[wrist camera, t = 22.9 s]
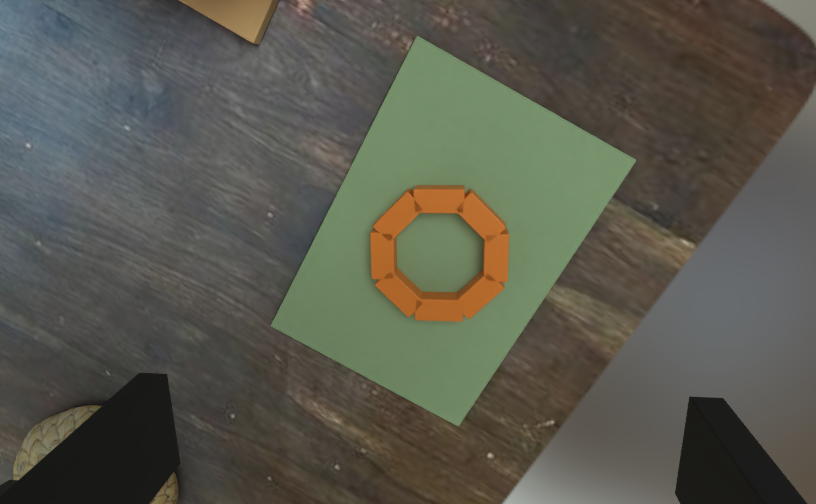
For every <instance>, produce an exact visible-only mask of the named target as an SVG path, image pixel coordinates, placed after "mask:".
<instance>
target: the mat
mask: <svg viewBox="0 0 816 504" xmlns="http://www.w3.org/2000/svg"><path fill="white" fill-rule="evenodd" d="M635 162H636V160H635V159H634V158H632V157H630V156H628V155H627V154H625V153H623V152H621V151H619V150H618V149H616V148H614V147H612V146H611V145H609V144H607V143H605V142H604V141H602V140H600V139H598V138H597V137H595V136H593V135H591V134H590V133H588V132H586V131H584V130H582V129H581V128H579V127H577V126H575V125H574V124H572V123H570V122H568V121H567V120H565V119H563V118H561V117H560V116H558V115H556V114H554V113H553V112H551V111H549V110H547V109H546V108H544V107H542V106H540V105H538V104H537V103H535V102H533V101H531V100H530V99H528V98H526V97H524V96H523V95H521V94H519V93H517V92H516V91H514V90H512V89H510V88H509V87H507V86H505V85H503V84H501V83H500V82H498V81H496V80H494V79H493V78H491V77H489V76H487V75H486V74H484V73H482V72H480V71H479V70H477V69H475V68H473V67H472V66H470V65H468V64H466V63H464V62H463V61H461V60H459V59H457V58H456V57H454V56H452V55H450V54H449V53H447V52H445V51H443V50H442V49H440V48H438V47H436V46H435V45H433V44H431V43H429V42H427V41H426V40H424V39H422V38H420V37H419V36H416V38H415V40H414V42H413V44H412V46H411V48H410V50H409V52H408V54H407V56H406V58H405V60H404V62H403V64H402V66H401V68H400V70H399V72H398V74H397V76H396V78H395V80H394V82H393V84H392V86H391V88H390V90H389V92H388V94H387V96H386V98H385V100H384V102H383V104H382V106H381V108H380V110H379V112H378V114H377V116H376V118H375V120H374V122H373V124H372V126H371V128H370V130H369V132H368V134H367V136H366V138H365V140H364V142H363V143H362V145H361V147H360V149H359V151H358V153H357V155H356V157H355V159H354V161H353V163H352V165H351V167H350V169H349V171H348V173H347V175H346V177H345V179H344V181H343V183H342V185H341V187H340V189H339V191H338V193H337V195H336V197H335V199H334V201H333V203H332V205H331V207H330V209H329V211H328V213H327V215H326V217H325V219H324V221H323V223H322V225H321V227H320V229H319V231H318V233H317V235H316V237H315V239H314V241H313V243H312V245H311V247H310V249H309V251H308V253H307V255H306V257H305V259H304V261H303V263H302V265H301V266H300V268H299V270H298V272H297V274H296V276H295V278H294V280H293V282H292V284H291V286H290V288H289V290H288V292H287V294H286V296H285V298H284V300H283V302H282V304H281V306H280V308H279V310H278V312H277V314H276V316H275V318H274V320H273V322H272V324H271V327H273V328H275V329H277V330H279V331H280V332H282V333H284V334H286V335H288V336H290V337H292V338H294V339H295V340H297V341H299V342H301V343H303V344H305V345H307V346H308V347H310V348H312V349H314V350H316V351H318V352H320V353H322V354H323V355H325V356H327V357H329V358H331V359H333V360H335V361H337V362H338V363H340V364H342V365H344V366H346V367H348V368H350V369H351V370H353V371H355V372H357V373H359V374H361V375H363V376H365V377H366V378H368V379H370V380H372V381H374V382H376V383H378V384H379V385H381V386H383V387H385V388H387V389H389V390H391V391H393V392H394V393H396V394H398V395H400V396H402V397H404V398H406V399H408V400H409V401H411V402H413V403H415V404H417V405H419V406H421V407H422V408H424V409H426V410H428V411H430V412H432V413H434V414H436V415H437V416H439V417H441V418H443V419H445V420H447V421H449V422H450V423H452V424H454V425H456V426H459V425H460V424H461V422H462V421H463V419H464V418H465V416H466V415H467V413H468V412H469V410H470V409H471V407H472V406H473V404H474V403H475V401H476V400H477V398H478V397H479V395H480V394H481V392H482V391H483V389H484V388H485V386H486V385H487V383H488V382H489V380H490V379H491V377H492V376H493V374H494V373H495V371H496V370H497V368H498V367H499V365H500V364H501V362H502V361H503V359H504V358H505V356H506V355H507V353H508V352H509V350H510V349H511V347H512V346H513V344H514V343H515V341H516V340H517V338H518V337H519V335H520V334H521V332H522V331H523V329H524V328H525V326H526V325H527V323H528V322H529V321H530V319H531V318H532V316H533V315H534V313H535V312H536V310H537V309H538V307H539V306H540V304H541V303H542V301H543V300H544V298H545V297H546V295H547V294H548V292H549V291H550V289H551V288H552V286H553V285H554V283H555V282H556V280H557V279H558V277H559V276H560V274H561V273H562V271H563V270H564V268H565V267H566V265H567V264H568V262H569V261H570V259H571V258H572V256H573V255H574V253H575V252H576V250H577V249H578V247H579V246H580V244H581V243H582V241H583V240H584V238H585V237H586V235H587V234H588V232H589V231H590V229H591V228H592V226H593V225H594V223H595V222H596V220H597V219H598V217H599V216H600V214H601V213H602V211H603V210H604V208H605V207H606V205H607V204H608V202H609V201H610V199H611V198H612V196H613V195H614V193H615V192H616V190H617V189H618V187H619V186H620V184H621V183H622V181H623V180H624V178H625V177H626V175H627V174H628V172H629V171H630V169H631V168H632V166H633V165H634V163H635ZM416 185H464V186H465V193H466V192H467V191H468V190H470V189H473V190H474V191H475V192H476V193H477V194H478V195H479V196H480V197H481V198H482V199H483V200H484V201H485V202H486V203H487V204H488V205H489V206H490V207H491V208H492V209H493V210H494V211H495V212H496V213H497V214H498V215H499V216H500V217H501V218H502V219H503V221H504V222H505V224H506V229H508V232H509V260H508V281H507V282H504V289H503V290H502V291H501V292H500V293H499V294H498V295H496V296H495V297H494V298H493V299H492V300H491V301H490V302H488V303H487V304H486V305H485V306H484V307H483V308H482V309H481V310H479V311H478V312H477V313H476V314H475V315H474V316H473V317H471V318H470V319H468V318H467V317H466V316H465V315H464V314H463V321H462V322H459V321H424V320H415V313H414V314H412V315H411V316H410V317H407V316H406V315H405V314H404V313H403V312H402V311H401V310H400V309H399V308H398V307H397V306H396V305H395V304H394V303H393V302H392V301H391V300H389V299H388V298H387V297H386V296H385V295H384V294H383V293H382V292H381V291H380V290H379V289H378V288H377V287H376V286H375V283H376V281H377V279H372V276H371V245H370V232H371V231H372V230H373V228H374V227H373V225H374V223H375V222H376V221H377V220H378V219H379V218H380V217H381V216H382V215H383V214H384V213H385V212H386V210H387V209H388V208H389V207H390V206H391V205H392V204H393V203H394V202H395V201H396V200H397V199H398V198H399V197H400V196H401V195H402V194H403V193H404V192H405V191H406V190H407V189H408V188H410V189H411V190H412V191H413V190H414V188H415V186H416ZM483 251H484V239H483V238H482V237H481V236H480V235H479V234H478V233H477V232H476V231H475V230H474V229H473V228H472V227H471V226H470V225H469V224H468V223H467V222H466V221H465V220H464V219H463V218H462V217H461V216H460V215H459V214H458V213H420V214H419V215H418V216H417V217H416V218H415V219H414V220H413V221H412V222H410V223H409V224H408V225H407V226H406V227H405V228H404V229H403V230H402V231H401V232H400V233H399V234H398V235H397V268H398V269H399V270H400V271H402V272H403V273H404V274H405V275H406V276H407V277H408V278H409V279H410V280H411V281H412V282H413V283H414V284H415V285H416V286H417V287H418V288H419V289H420V290H421V291H422V292H458V291H459V290H460V289H462V288H463V287H464V286H465V285H466V284H467V283H468V282H469V281H470V280H471V279H473V278H474V277H475V276H476V275H477V274H478V273H479V272H480V271H481V270H483Z"/></svg>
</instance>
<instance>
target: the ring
mask: <svg viewBox="0 0 816 504" xmlns="http://www.w3.org/2000/svg"><path fill="white" fill-rule="evenodd" d="M420 213H458V214H459V215H460V216H461V217H462V218H463V219H464V220H465V221H466V222H467V223H468V224H469V225H470V226H471V227H472V228H473V229H474V230H475V231H476V232H477V233H478V234H479V235H480V236H481V237H482V238H483V239H484V251H483V270H481V271H480V272H479V273H478V274H477V275H476V276H475V277H474V278H473V279H471V280H470V281H469V282H468V283H467V284H466V285H465V286H464V287H463V288H462V289H460V290H459V291H458V292H422V291H421V290H420V289H419V288H418V287H417V286H416V285H415V284H414V283H413V282H412V281H411V280H410V279H409V278H408V277H407V276H406V275H405V274H404V273H403V272H402V271H400V270H399V269H398V268H397V235H398V234H399V233H400V232H401V231H402V230H403V229H404V228H405V227H406V226H407V225H408V224H409V223H410V222H412V221H413V220H414V219H415V218H416V217H417V216H418V215H419V214H420ZM373 227H374V228H373V230H372V231H371V232H370V245H371V276H372V279H377V281H376V283H375V286H376V287H377V288H378V289H379V290H380V291H381V292H382V293H383V294H384V295H385V296H386V297H387V298H388V299H389V300H391V301H392V302H393V303H394V304H395V305H396V306H397V307H398V308H399V309H400V310H401V311H402V312H403V313H404V314H405V315H406V316H407V317H410V316H411V315H412V314H414V313H415V320H424V321H459V322H462V321H463V314H464V315H465V316H466V317H467V318H468V319H470V318H471V317H473V316H474V315H475V314H476V313H477V312H478V311H479V310H481V309H482V308H483V307H484V306H485V305H486V304H487V303H488V302H490V301H491V300H492V299H493V298H494V297H495V296H496V295H498V294H499V293H500V292H501V291H502V290H503V289H504V282H507V281H508V260H509V232H508V229H506V224H505V222H504V221H503V219H502V218H501V217H500V216H499V215H498V214H497V213H496V212H495V211H494V210H493V209H492V208H491V207H490V206H489V205H488V204H487V203H486V202H485V201H484V200H483V199H482V198H481V197H480V196H479V195H478V194H477V193H476V192H475V191H474V190H473V189H470V190H468V191H467V192H466V193H465V186H464V185H416V186H415V188H414V190H413V191H412V190H411V189H410V188H408V189H407V190H406V191H405V192H404V193H403V194H402V195H401V196H400V197H399V198H398V199H397V200H396V201H395V202H394V203H393V204H392V205H391V206H390V207H389V208H388V209H387V210H386V212H385V213H384V214H383V215H382V216H381V217H380V218H379V219H378V220H377V221H376V222H375V223H374V225H373Z"/></svg>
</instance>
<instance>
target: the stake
mask: <svg viewBox="0 0 816 504" xmlns="http://www.w3.org/2000/svg"><path fill="white" fill-rule="evenodd" d="M179 1H181V2H183V3H184V4H186V5H188V6H189V7H191V8H193V9H195V10H196V11H198V12H200V13H202V14H203V15H205V16H207V17H208V18H210V19H212V20H214V21H215V22H217V23H219V24H220V25H222V26H224V27H226V28H227V29H229V30H231V31H232V32H234V33H236V34H238V35H239V36H241V37H243V38H244V39H246V40H248V41H250V42H251V43H254V44H260V42H261V39H262V37H263V35H264V33H265V30H266V28H267V26H268V24H269V21H270V19H271V17H272V15H273V12H274V10H275V8H276V5H277V3H278V1H279V0H179Z"/></svg>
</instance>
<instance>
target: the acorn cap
mask: <svg viewBox="0 0 816 504" xmlns="http://www.w3.org/2000/svg"><path fill="white" fill-rule="evenodd" d="M101 406H103V405H101ZM101 406H96V405H87V406H82V407H76V408H71V409H69V410H67V411H65V412H61V413H59V414H56V415H54V416H52V417H49V418H47V419H45V420H43V421H41V422H40V423H38V424H37V425H35V426H34V427H33V428H32V429H31V430H30V432H29V433H28V435H27V436H26V438H25V439H24V441H23V445H22V448H21V449H20V451H19V452H18V454H17V457H16V460H15V463H14V465H13V474H14V476H13V479H14V480H19V479H20V478H21V477H22V476H24V475H25V474H26V473H27V472H28V471H29V470H30V469H31V468H33V467H34V466H35V465H36V464H37V463H38V462H39V461H40V460H42V459H43V458H44V457H45V456H46V455H47V454H48V453H49V452H51V451H52V450H53V449H54V448H55V447H56V446H57V445H59V444H60V443H61V442H62V441H63V440H64V439H65V438H66V437H68V436H69V435H70V434H71V433H72V432H73V431H74V430H75V429H77V428H78V427H79V426H80V425H81V424H82V423H83V422H84V421H86V420H87V419H88V418H89V417H90V416H91V415H92V414H93V413H95V412H96V411H97V410H98V409H99V408H100V407H101ZM177 498H178V483H177V478H176V474H175V472H173V474H172V475H171V476H170V478H169V479H168V480H167V482H166V483H165V484H164V486H163V487H162V488H161V489H160V491H159V492H158V493H157V495H156V496H155V497H154V499H153V500H152V501H151V503H150V504H177Z"/></svg>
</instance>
